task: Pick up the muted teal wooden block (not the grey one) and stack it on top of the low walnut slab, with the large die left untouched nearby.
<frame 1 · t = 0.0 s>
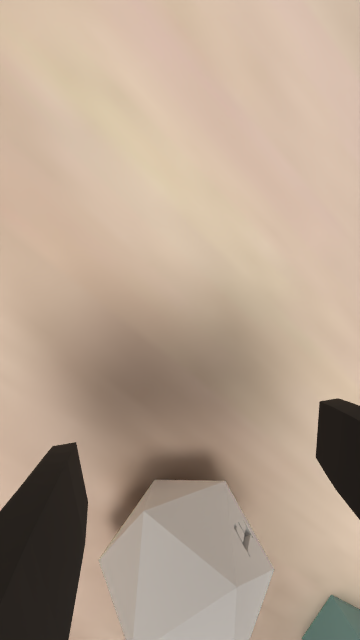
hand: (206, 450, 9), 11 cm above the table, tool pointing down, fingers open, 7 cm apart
die: (175, 511, 21), on the table
teal block: (335, 625, 24), on the table
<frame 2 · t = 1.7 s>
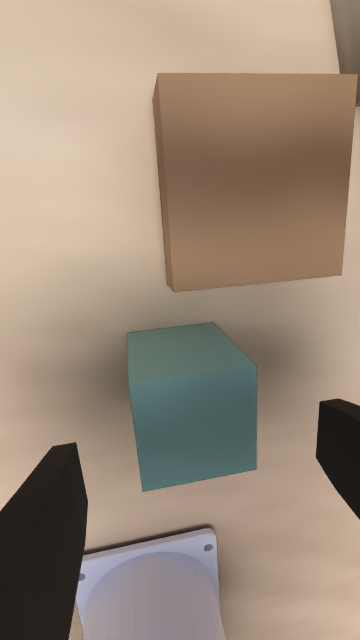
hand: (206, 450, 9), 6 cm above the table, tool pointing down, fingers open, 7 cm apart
walnut slab: (238, 195, 13), on the table
teal block: (174, 366, 15), on the table
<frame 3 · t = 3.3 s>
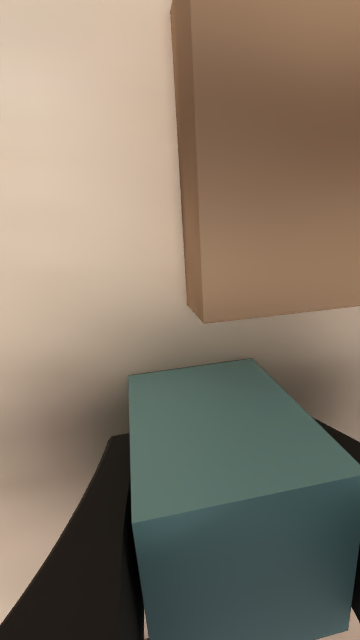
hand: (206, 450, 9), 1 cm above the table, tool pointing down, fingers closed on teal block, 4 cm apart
walnut slab: (294, 173, 9), on the table
teal block: (195, 421, 10), on the table, touching gripper
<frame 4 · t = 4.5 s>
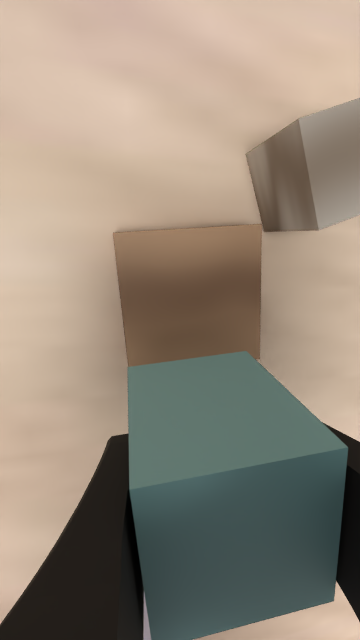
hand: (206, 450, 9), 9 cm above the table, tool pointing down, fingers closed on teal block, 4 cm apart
walnut slab: (184, 293, 17), on the table
teal block: (192, 411, 11), point 7 cm above the table, touching gripper
grey block: (289, 182, 16), on the table
when the fingers open (5 cm above the table, at t = 6.2 s): teal block drops 2 cm, point 2 cm above the table.
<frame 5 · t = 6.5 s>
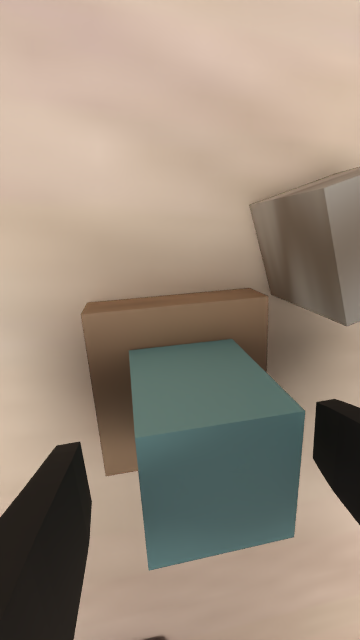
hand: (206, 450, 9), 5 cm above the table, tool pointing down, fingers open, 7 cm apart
walnut slab: (174, 365, 14), on the table
teal block: (184, 391, 12), point 2 cm above the table
grey block: (302, 236, 13), on the table
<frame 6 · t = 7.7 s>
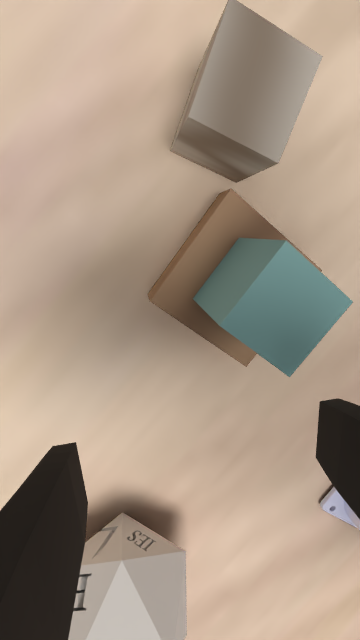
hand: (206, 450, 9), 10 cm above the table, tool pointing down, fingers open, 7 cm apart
die: (122, 540, 23), on the table
walnut slab: (225, 279, 19), on the table, touching teal block
teal block: (242, 290, 17), point 2 cm above the table, touching walnut slab
grey block: (217, 129, 16), on the table
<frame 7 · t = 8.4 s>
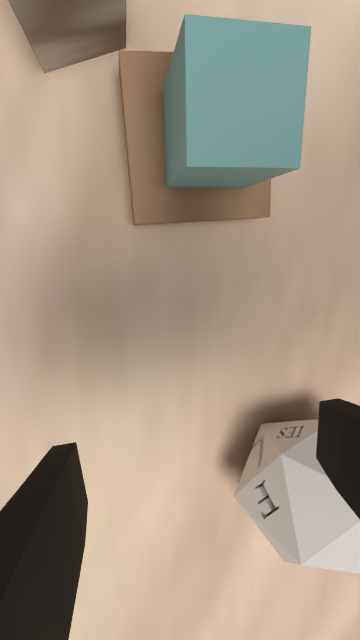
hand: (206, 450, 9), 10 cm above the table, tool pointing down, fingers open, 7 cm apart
die: (279, 446, 23), on the table
walnut slab: (191, 154, 17), on the table, touching teal block
teal block: (206, 142, 14), point 2 cm above the table, touching walnut slab
grey block: (67, 9, 14), on the table
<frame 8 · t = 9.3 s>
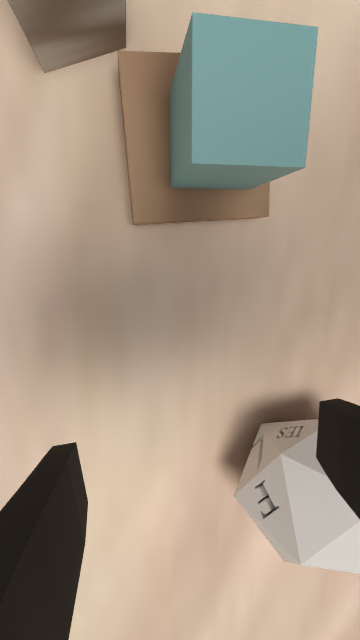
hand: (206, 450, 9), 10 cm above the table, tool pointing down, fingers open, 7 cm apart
die: (279, 446, 23), on the table
walnut slab: (190, 154, 17), on the table
teal block: (212, 143, 14), point 2 cm above the table
grey block: (67, 9, 14), on the table
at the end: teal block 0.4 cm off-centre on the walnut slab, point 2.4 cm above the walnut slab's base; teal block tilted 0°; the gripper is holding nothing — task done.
